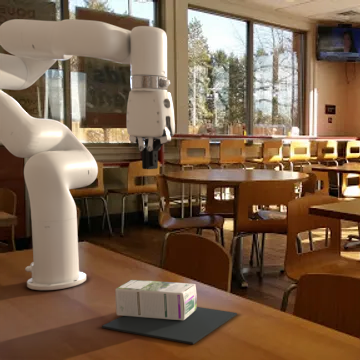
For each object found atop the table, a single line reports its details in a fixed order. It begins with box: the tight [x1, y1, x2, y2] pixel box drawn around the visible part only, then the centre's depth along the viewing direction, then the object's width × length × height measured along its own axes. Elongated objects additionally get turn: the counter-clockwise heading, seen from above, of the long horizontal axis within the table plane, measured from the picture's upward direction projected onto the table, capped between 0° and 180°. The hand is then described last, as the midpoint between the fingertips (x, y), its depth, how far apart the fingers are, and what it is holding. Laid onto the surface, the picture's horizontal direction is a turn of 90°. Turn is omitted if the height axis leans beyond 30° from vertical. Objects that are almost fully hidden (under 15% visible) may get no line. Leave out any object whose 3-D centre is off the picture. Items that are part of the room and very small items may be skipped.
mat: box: [101, 306, 238, 345], centre depth 95 cm, size 20×15×1 cm
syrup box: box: [114, 279, 198, 320], centre depth 98 cm, size 6×6×14 cm
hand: (150, 168), depth 110 cm, fingers closed
